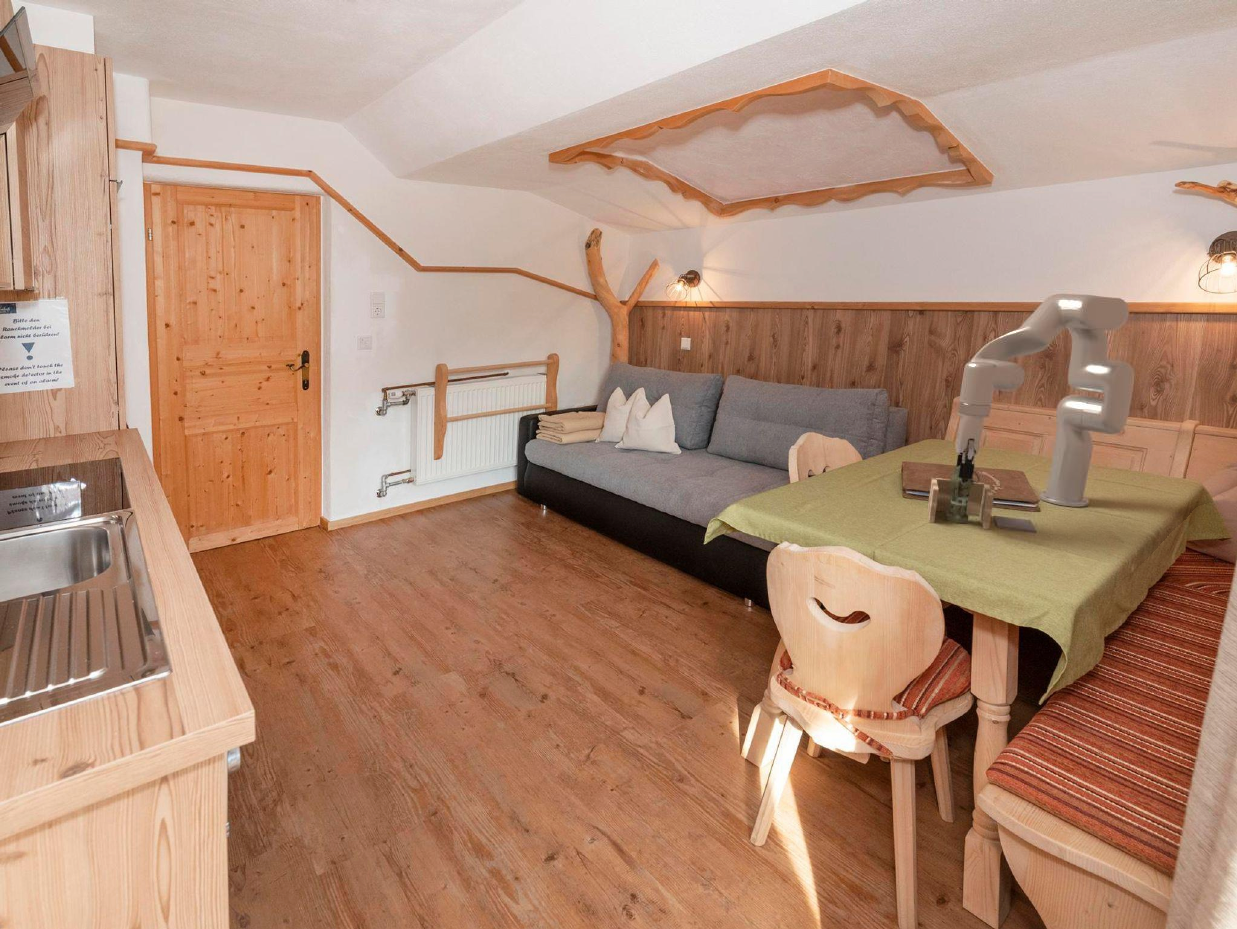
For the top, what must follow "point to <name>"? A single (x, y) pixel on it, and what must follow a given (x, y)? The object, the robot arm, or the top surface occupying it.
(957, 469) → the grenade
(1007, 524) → the coaster
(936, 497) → the light wood u-shaped frame
